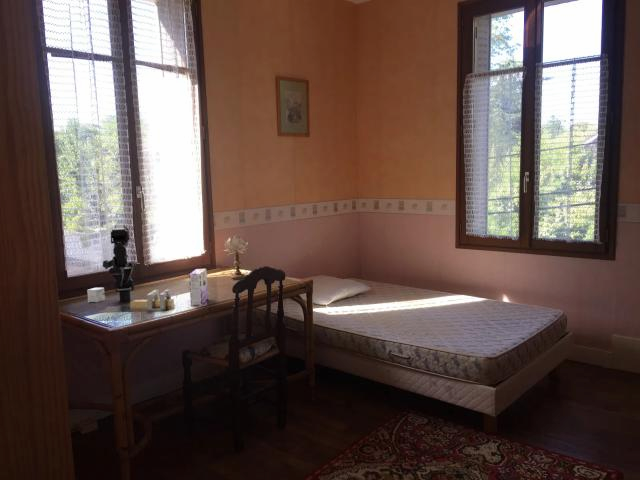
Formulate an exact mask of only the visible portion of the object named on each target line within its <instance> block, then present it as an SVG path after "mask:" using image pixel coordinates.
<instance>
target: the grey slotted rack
mask: <svg viewBox="0 0 640 480" xmlns="http://www.w3.org/2000/svg"><path fill="white" fill-rule="evenodd" d="M159 292H160V291H159V289H153V290H152V291H151V292H149V293H148V294H146V300H147V305H148V310H131V307H130V305H122V306H121V305H118V306H116V305H115V306H113V305H111V306H106V307H105V308H104V309H103V308H102V309H101V310H99V311H98V312H97V313H102V314H103V313H106V314H107V313H142V312H143V313H147V312H149V313H150V312H151V313H152V312H169V311H171V309H166V304H165V299H172V293H171V289H170V288H169V289H165V290H164V291H163V292H161V293H160V294H159ZM153 299H160V308H153ZM175 306H176V304H174V307H175Z"/></svg>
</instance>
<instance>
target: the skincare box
mask: <svg viewBox="0 0 640 480" xmlns="http://www.w3.org/2000/svg"><path fill="white" fill-rule="evenodd" d="M86 291H87V292H86V293H87V303H88V304H89V303H98V302H101V301H106V292H105V287H93V288H89V289H87V290H86Z"/></svg>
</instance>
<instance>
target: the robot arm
mask: <svg viewBox="0 0 640 480" xmlns="http://www.w3.org/2000/svg"><path fill="white" fill-rule="evenodd" d="M130 237H131V236H130V230H129V228H128V227H126V224H124V223H117V224H114V227H113V228H111V231H110V244H111V245H113V249H112V253H113V254H114V256H112V259H111V260H108V259H106V260H103V261H102V267H103V268H104V269H105V270H107V269H108V275H109V276H112V277H113V278H114V279H115V281H114V284H115V285H114V287H115V293H118V299H119V303H127V302H131V301H132V294H131V291H135V282H134V280H133V279H132V277H131V275H132V272H133V270H134V268H135V262H133V261H128V258H129V254H128V253H127V252H128V250H127V247H128V246H129V243H130V242H129V241H130V240H131V238H130Z"/></svg>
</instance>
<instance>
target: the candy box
mask: <svg viewBox="0 0 640 480" xmlns="http://www.w3.org/2000/svg"><path fill="white" fill-rule="evenodd" d="M207 273H208V271H207V268H195V269H194V270H193V271H192V272H190V273H189V275H188V277H189V294H190V296H189V298H190V306H191V307H193V306H194V307H200V306H199V305H202V306H203V305H204V304H205V303H206V302H207V301H208V300H209V289H208V288H209V287H208V286H209V285H208V274H207Z"/></svg>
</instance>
